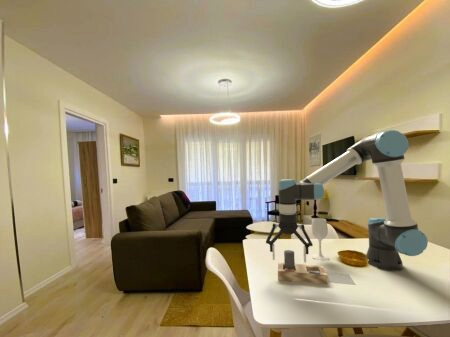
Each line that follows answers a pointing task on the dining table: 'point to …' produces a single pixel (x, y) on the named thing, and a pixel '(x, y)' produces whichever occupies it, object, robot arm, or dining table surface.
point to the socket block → (302, 273)
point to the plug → (289, 259)
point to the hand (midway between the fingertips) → (289, 260)
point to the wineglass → (319, 235)
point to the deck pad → (340, 278)
